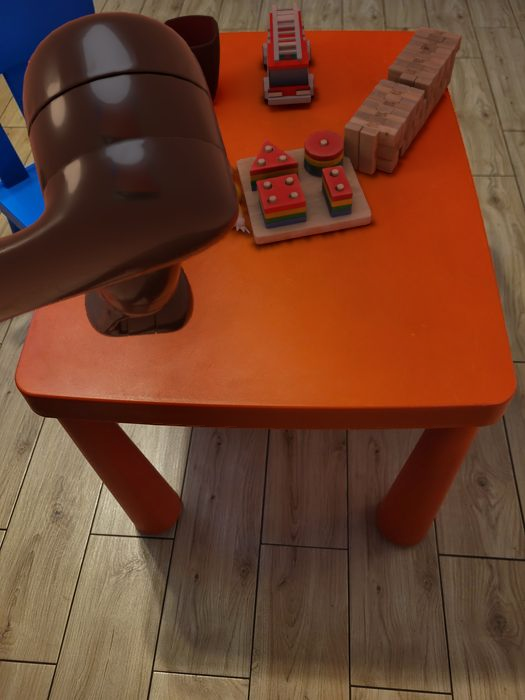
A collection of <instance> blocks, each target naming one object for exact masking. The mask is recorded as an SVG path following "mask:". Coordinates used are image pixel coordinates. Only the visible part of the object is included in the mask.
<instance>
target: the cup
mask: <svg viewBox="0 0 525 700" xmlns="http://www.w3.org/2000/svg"><path fill="white" fill-rule="evenodd" d="M163 24H165V25H167V26H168V27H170V28H172V29H173V30H174V31H175V32H176V33H177V34H178V35H179V36H180V37H182V38H183V39H184V40H185V42H186V43H187V45H188V46H189V48H190V49H191V51H192V52H193V54H194V55H195V57H196V58H197V60H198V63H199V65H200V67H201V69H202V72H203V74H204V77H205V80H206V83H207V85H208V88H209V91H210V95H211V98H212V101H213V102H214V101H215V100H216V98H217V97H216V96H217V93H218V87H219V81H220V80H219V78H220V65H221V40H220V39H221V38H220V37H221V36H220V30H219V29H220V28H219V24H218V21H217V20H216V18H214V17H213V16H211V15H205V14H190V15H189V14H188V15H182V16H176V17H172V18H170V19H167V20H165V21H164V23H163Z"/></svg>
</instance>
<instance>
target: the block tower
mask: <svg viewBox="0 0 525 700" xmlns="http://www.w3.org/2000/svg"><path fill="white" fill-rule="evenodd" d="M462 40H463V35H462V34H458V33H455V32H450V31H446V30H440V29H435V28H431V27H426V26H421V25H420V26H419V27H418V28H417V29H416V31H415V32H414V33H413V35H412V37H410V39H409V42H408V43H407V44H406V45H405V46H404V47H403V49H402V50H401V52H400V53H399V54H398V55H397V56H396V59H395V60H394V62H393V63H391V64H390V65H389V66H388V68H387V76H386V77H387V78H386V79H385V78H382V79H380V80H379V82H378V83H377V84H376V85H375V86H374V87H373V90H372V91H371V92H370V94H368V95H367V96H366V98H365V99H364V100H363V102H362V103H361V105H360V106H359V107H358V109H357V111H356V112H355V113H354V114H353V115H352V117H351V118H350V119H349V121H347V123H346V124H345V125H344V127H343V141H344V156H345V157H348V158H349V159H350V161H351V164H352V166H353V169H354V170H355V171H356V170H358V172H361V173H364V174H367V175H370V176H371V175H373V174H374V173H375V172H376V170H379V171H381V172H385V173H387V174H392V173H393V171H394V169H395V168H396V166H397V164H398V162H399V157H401V158H402V157H403V155H404V154H405V152H406V151H407V150H408V148H410V145H411V143H412V141H413V140H414V139H415V138H416V136H417V135H418V133H419V132H420V131H421V129H422V128H423V126H424V124H425V123H426V122H427V120H428V118H429V116H430V115H431V114H432V113H433V110H434V109H435V108H436V106H437V104H438V103H439V101H440V100H441V98H442V96H443V95H444V93H445V92H446V89H447V88H448V86H449V85H450V83H451V81H452V76H453V70H454V65H455V61H456V56H457V53H458V52H459V51H460V49H461V45H462Z"/></svg>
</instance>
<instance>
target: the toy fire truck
mask: <svg viewBox="0 0 525 700" xmlns="http://www.w3.org/2000/svg"><path fill="white" fill-rule="evenodd" d="M277 6H278V5H277V4H276V3H275V4H271V7H272V8H271V9H272V11H271V12H269V13H268V14H269V23H267V40H266V42H265V43H262V44H261V46H262V47H261V48H262V49H261V50H262V63H263V68H266V72H267V73H266V74H267V76H262V85H263V100H264V102H267V104H268V106H275V105H277V106H278V105H293V104H305V103H307V104H309V103H312V99H315V78H314V73H310V72H309V68H310V65H312V50H311V49H312V48H311V40H309V39H308V40H306V39H307V37H306V32H305V22H304V20H302V12H301V10H299V8H298V2H293V3H292V7H291V6H290V7H277Z"/></svg>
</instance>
